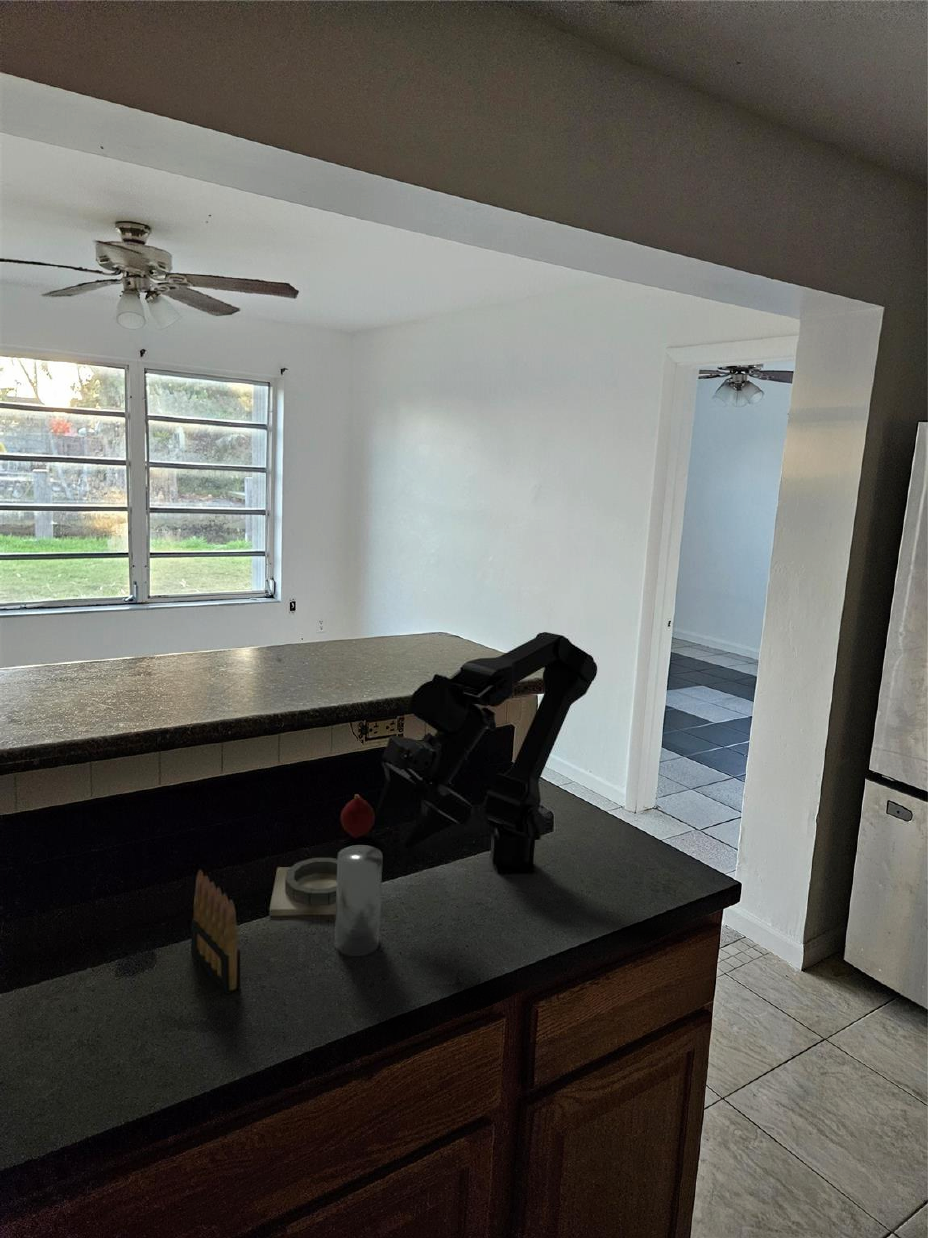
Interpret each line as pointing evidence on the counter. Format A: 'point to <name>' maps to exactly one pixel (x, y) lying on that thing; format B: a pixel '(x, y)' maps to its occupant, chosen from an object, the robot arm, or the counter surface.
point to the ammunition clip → (215, 934)
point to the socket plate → (296, 908)
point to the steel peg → (358, 900)
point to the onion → (357, 817)
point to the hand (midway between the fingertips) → (391, 831)
